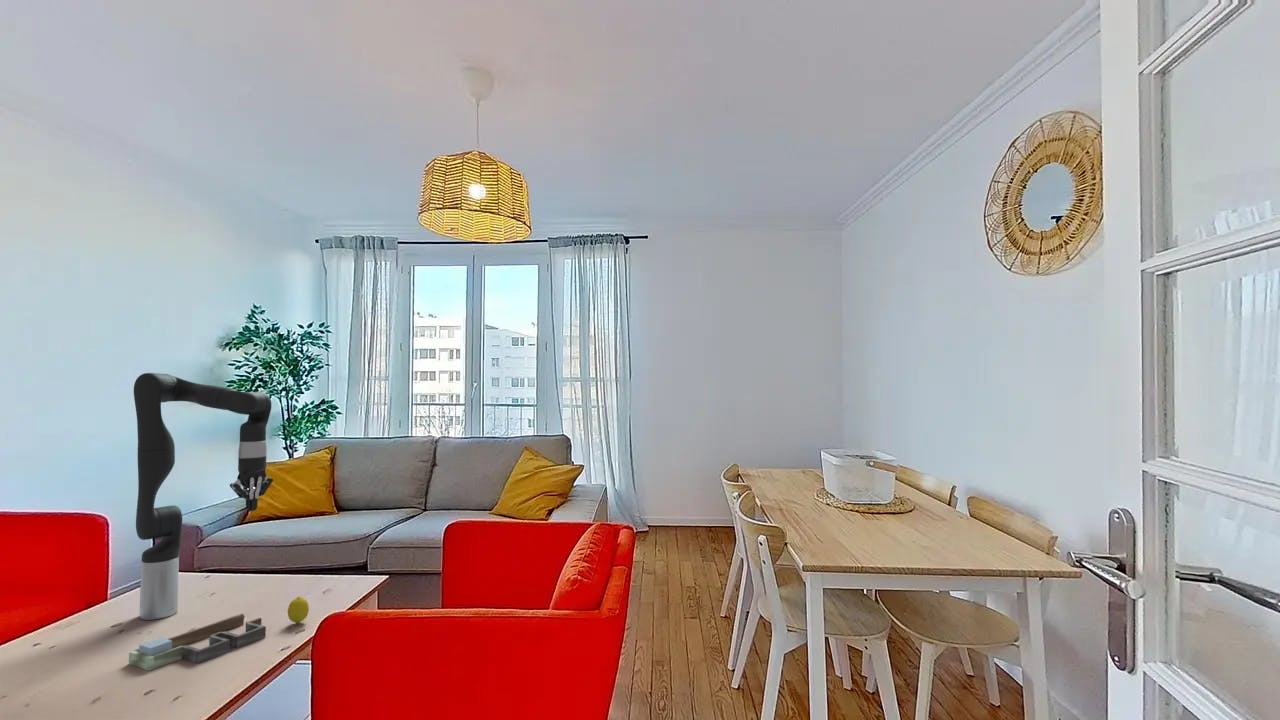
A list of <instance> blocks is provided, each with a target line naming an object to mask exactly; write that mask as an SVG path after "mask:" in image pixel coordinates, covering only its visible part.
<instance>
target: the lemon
mask: <svg viewBox="0 0 1280 720" xmlns="http://www.w3.org/2000/svg"><path fill="white" fill-rule="evenodd" d="M309 608H310V606H309V601H308V600H307V599H306V598H304V597H301V596H297V597H296V598H294V599H292V600H291V601H290V603H289V605H288V608H287V616H288V619H289V620H290V621H291V622H293V623H295V624H297V625H298V624H301V622H302V621H304V620H306V618H307V616H308V614H309V610H310V609H309Z"/></svg>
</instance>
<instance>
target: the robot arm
mask: <svg viewBox="0 0 1280 720" xmlns="http://www.w3.org/2000/svg"><path fill="white" fill-rule="evenodd" d="M133 398H134V400H133V401H134V407H135V412H136V427H137V428H136V429H137V473H138V474H137V475H138V476H137V477H138V480H137V481H138V484H137V485H138V486H137V487H138V491H137V502H136V503H137V506H136V514H135V530H136V534H137V537H138V538H139V539H140V540H143V541H147V540H151V539H152V540H153V539H158V538H159V539H160V538H161V540H160V541H158V542H157V543H156V544H155V545H153V546H150V547H149V548H147V549H145V550H144V551H143V552H142V553H141V577H140V580H141V581H140V586H139V587H140V588H139V589H140V590H139V591H140V593H139V616H140V617H139V618H140V619H141V620H143V621H144V620H145V621H149V620H151V621H152V620H158V619H164V618H168V617H170V616H173V615H175V614H177V613H178V610H179V609H178V607H179V605H178V604H179V570H180V569H179V568H180V567H179V566H180V565H179V563H180V561H179V560H180V549H181V544H182V542H181V541H182V530H183V513H182V510H181V509H180V507H179V506H178V505H166V506H159V507H155V501H156V497H157V494H158V492H159V489H160V488H161V486H162V485H163V483H164V481H166V479H167V477H168V476H169V475H170V473H171V472H172V470H173V468H174V466H175V462H176V456H175V455H176V450H175V449H176V448H175V441H174V439H173V437H172V434H171V432H170V431H169V430H168V428H167V426H166V424H165V423H164V420H163V416H162V415H163V414H162V403H167V402H168V403H169V402H189V403H194V404H197V405H199V406H202V407H207V408H211V409H217V410H223V411H229V412H232V413H235V414H240V415H245V416H246V415H247V417H248V418H247V420H246V422H244V423H241V424H240V428H239V443H238V453H237V455H238V456H237V457H238V459H237V460H238V464H237V471H238V475H237V478H236V480H235V482H234V481H233V483H232V482H231V483H230V484H229V487H230V489H232V490H233V492H234V494H236V495H237V497H239V498H241V499H244V500H245V510H246V511H247V512H255V511H257V509H258V504H259V503H258V501H259V500H258V499H259V498H260V497H261V496H264V495H265V494H266V492H267V490H268V489H269V488H270V486H271V485H272V483H273V482H274V478H271V477H269V476H267V472H266V469H267V451H268V450H267V440H266V439H267V437H266V436H267V426H268V425H267V424H268V423H269V422H268V421H269V419H270V416H271V410H272V399H271V398H270V396H269V395H268V394H267V393H266V392H263V391H250V392H249V391H239V390H237V389H235V388H232V387H225V386H219V385H213V384H212V385H211V384H203V383H202V384H201V383H197V382H194V381H193V382H192V381H188V380H185V379H182V378H180V377H177V376H174V375H171V374H168V373H158V372H156V373H155V372H146V373H141V374H140V375H139V376H138V377H137V378H136V379H135V381H134V384H133Z"/></svg>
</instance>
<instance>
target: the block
mask: <svg viewBox="0 0 1280 720" xmlns="http://www.w3.org/2000/svg"><path fill="white" fill-rule="evenodd" d="M168 639H169V638H163V637H159V638H156V639H153V640H150V641H146V642H144V643H140V644H139V645H138V649H139V652H140V653H143V654H146V655H150V656H154V655H156V654H159V653H162V652H165V651H168V650H170V649H172V641H171V640H168Z"/></svg>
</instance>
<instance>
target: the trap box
mask: <svg viewBox="0 0 1280 720" xmlns="http://www.w3.org/2000/svg"><path fill="white" fill-rule="evenodd" d="M244 617H245V615H244V613H240V614H236V615H234V616H231V617H228V618H225V619H221V620H218V621H216V622H213V623H211V624H207V625H204V626H201V627H198V628H196V629H192V630H190V631H187V632H186V631H185V632H184V633H180V634H178V635H175V636H173V637H169V638H167V639H168V640H171V641H172V649H170V650H168V651H165V652H162V653H159V654H156V655H154V656H150V655H146V654H143V653H140V652H139V648H137V649H134V650H131V651H129V653H128V665H130V666H134V667H137V668H140V669H143V670H146V671H151V670H152V671H153V670H155V669H158V668H160V667H162V666H165V665H167V664H171V663H174V662H176V661H178V660H186V661H189V662H193V663H195V664H200V663H202V662H206V661H208V660H211V659H213V658H216V657H218V656H221V655H224V654H226V653H228V652H231V651H230V649H231V648H235V649H239V648H241V647H243V646H244V647H245V646H247V645H249V644H252V643H254V642H256V641H260V640H262V639H265V638H266V637H267V636H266V631H267V629H266V625H262V618H261V617H257V618H255V619H251V620H249V621H247V622H245V621H244V620H245V618H244ZM244 624H245V632H243V633H240V634H236V633H232V632H229V631H228V630H231V629H234V628H237V627H240V626H243V625H244ZM206 638H208V640H209V641H208V643H209V645H208V646H205V647H203V648H197V647H193V646H189V644H193V643H195V642H198V641H201V640H204V639H206Z"/></svg>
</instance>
